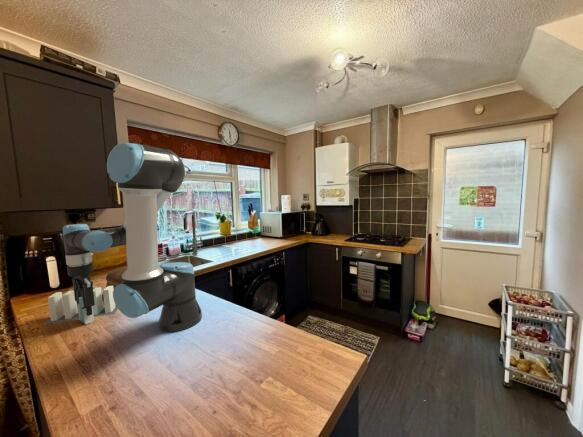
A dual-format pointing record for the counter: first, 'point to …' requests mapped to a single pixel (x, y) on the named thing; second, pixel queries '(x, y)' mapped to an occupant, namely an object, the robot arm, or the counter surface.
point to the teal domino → (81, 309)
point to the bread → (115, 277)
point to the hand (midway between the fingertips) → (86, 320)
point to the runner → (78, 316)
